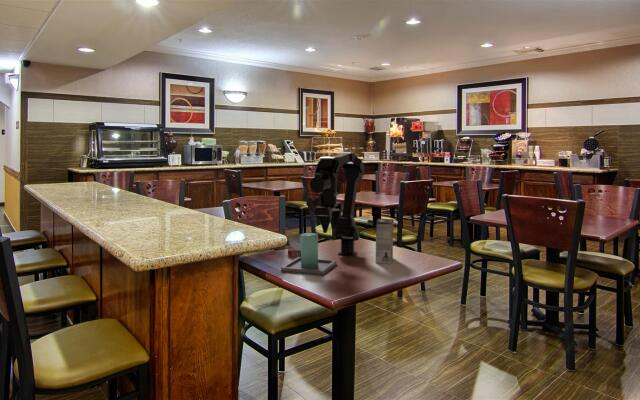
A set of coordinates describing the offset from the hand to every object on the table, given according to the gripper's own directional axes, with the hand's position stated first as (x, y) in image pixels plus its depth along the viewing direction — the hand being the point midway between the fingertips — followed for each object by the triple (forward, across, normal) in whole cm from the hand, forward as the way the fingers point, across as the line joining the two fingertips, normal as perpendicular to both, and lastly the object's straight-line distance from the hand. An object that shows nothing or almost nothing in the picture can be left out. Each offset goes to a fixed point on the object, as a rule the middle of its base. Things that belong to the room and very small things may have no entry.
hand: (329, 230), depth 176 cm
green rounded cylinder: (+12, +8, -5) cm, 16 cm away
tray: (+13, +8, -5) cm, 16 cm away
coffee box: (+13, -12, +19) cm, 26 cm away
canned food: (+13, -9, -16) cm, 23 cm away
